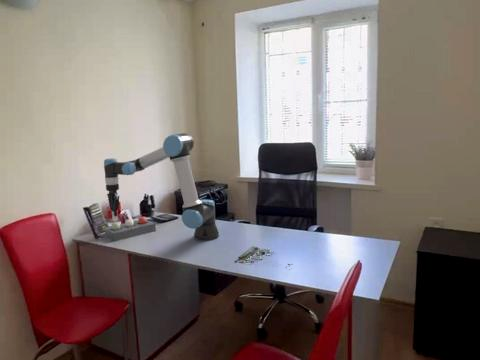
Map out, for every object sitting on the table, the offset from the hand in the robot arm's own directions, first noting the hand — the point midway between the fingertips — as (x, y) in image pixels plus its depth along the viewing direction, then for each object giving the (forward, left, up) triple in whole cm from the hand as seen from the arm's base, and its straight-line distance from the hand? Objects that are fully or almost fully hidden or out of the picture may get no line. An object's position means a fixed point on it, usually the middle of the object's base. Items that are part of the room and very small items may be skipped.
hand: (115, 220), depth 235 cm
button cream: (0, -9, -6) cm, 11 cm away
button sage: (0, 0, -6) cm, 6 cm away
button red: (0, -18, -6) cm, 19 cm away
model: (-95, -40, -11) cm, 104 cm away
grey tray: (0, -9, -10) cm, 14 cm away
